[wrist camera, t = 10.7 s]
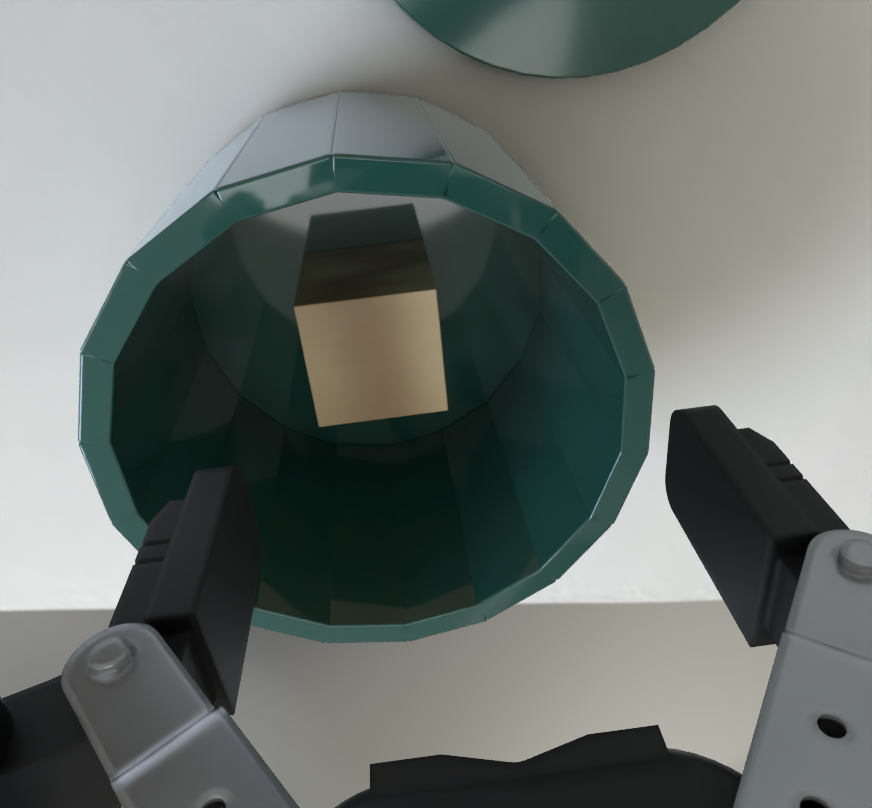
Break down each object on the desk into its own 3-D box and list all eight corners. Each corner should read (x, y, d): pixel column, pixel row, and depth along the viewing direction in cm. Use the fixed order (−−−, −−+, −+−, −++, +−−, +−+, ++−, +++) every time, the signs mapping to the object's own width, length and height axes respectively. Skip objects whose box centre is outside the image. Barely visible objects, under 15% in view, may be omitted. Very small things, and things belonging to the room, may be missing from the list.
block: (423, 238, 26) (436, 288, 22) (434, 346, 28) (448, 410, 24) (303, 253, 26) (293, 306, 22) (323, 360, 28) (318, 428, 24)
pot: (555, 66, 24) (676, 115, 15) (555, 432, 32) (636, 610, 23) (118, 113, 23) (-28, 194, 14) (225, 474, 31) (174, 675, 22)
